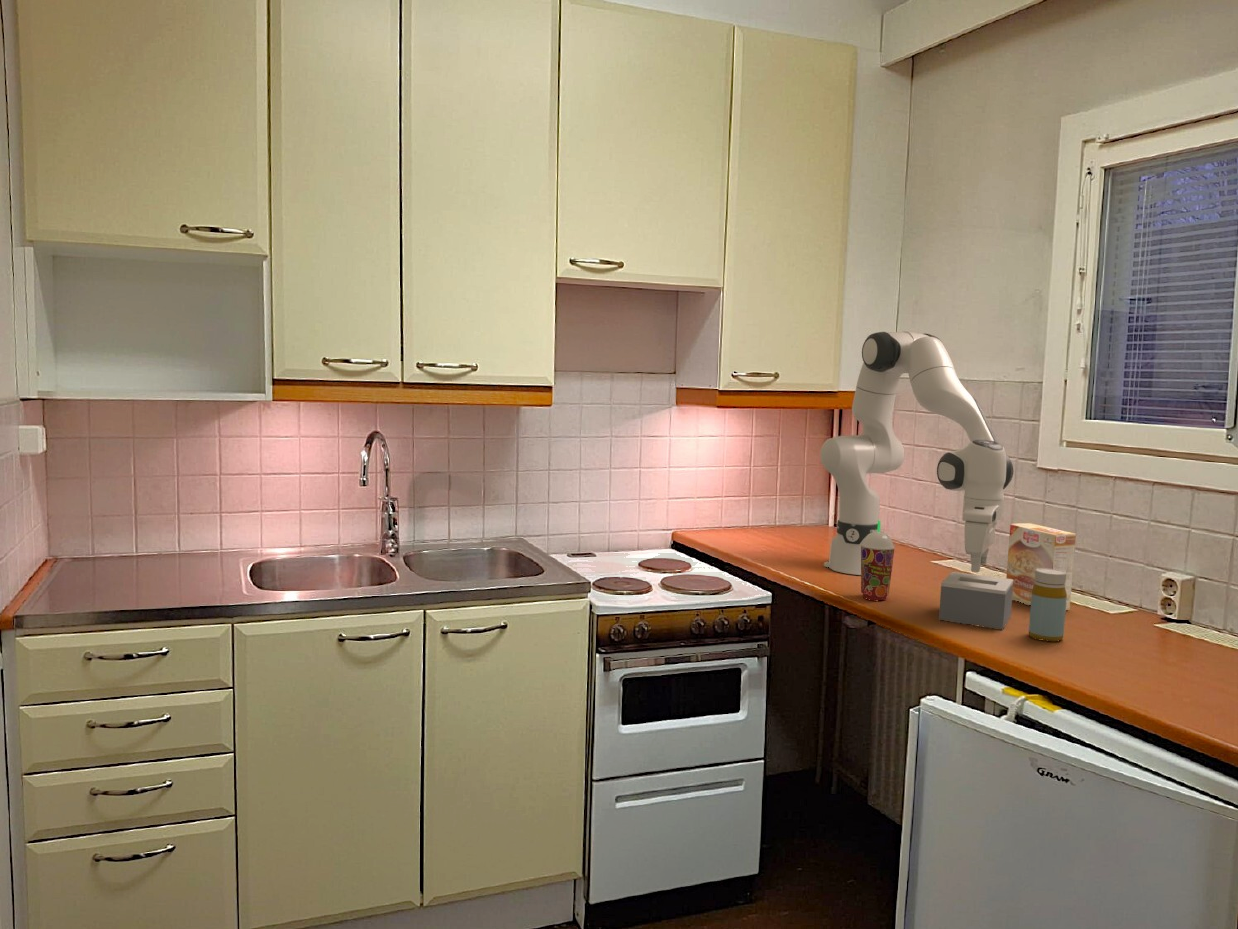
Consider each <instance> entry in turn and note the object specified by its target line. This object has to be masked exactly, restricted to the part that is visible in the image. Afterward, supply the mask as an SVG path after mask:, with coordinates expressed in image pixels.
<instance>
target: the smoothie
mask: <svg viewBox="0 0 1238 929" xmlns="http://www.w3.org/2000/svg"><path fill="white" fill-rule="evenodd" d="M881 522H882V520H879V521H878V528H877V531H875V532H871V533H869V534H868V535H867V536H866V537H865V538H864V540H863V542H862V543H861V575H860V592H861V593H862V597H863V599H865V598H867V599H870V600H869V601H871V600H884V601H886V600H887V597H888V596H889V595H890V590H891V588H890V586H891V578H892V572H893V563H894V556H895V549H896V546H895V545H894V542H893V540H892V538H891V537H890V536H889V534H887V533H885V532H883V531H881V525H880V523H881ZM867 599H866V600H867Z"/></svg>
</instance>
